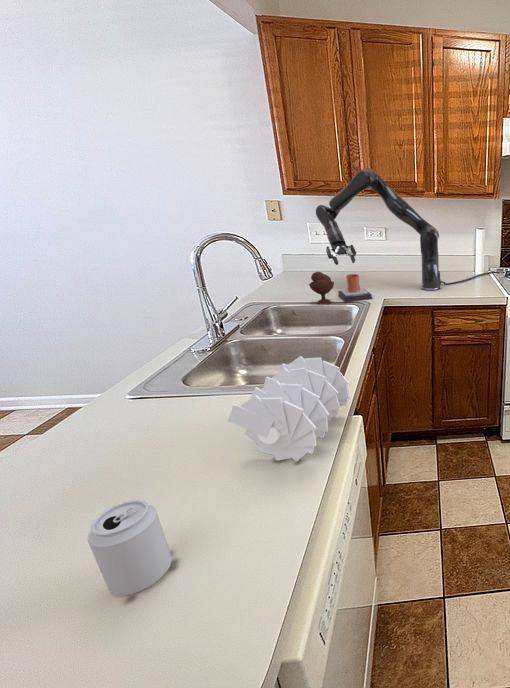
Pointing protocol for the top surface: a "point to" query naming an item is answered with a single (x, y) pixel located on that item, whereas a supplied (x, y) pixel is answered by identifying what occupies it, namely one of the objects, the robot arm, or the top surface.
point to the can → (129, 547)
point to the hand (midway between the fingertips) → (345, 263)
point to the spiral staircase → (293, 408)
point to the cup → (353, 283)
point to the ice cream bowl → (321, 285)
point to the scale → (354, 295)
